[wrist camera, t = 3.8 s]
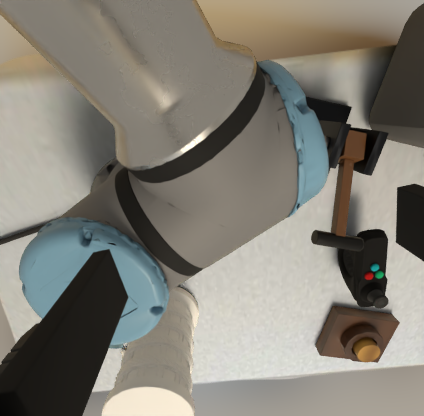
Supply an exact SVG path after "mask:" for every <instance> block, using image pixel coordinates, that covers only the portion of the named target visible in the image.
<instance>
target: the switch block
mask: <svg viewBox="0 0 424 416" xmlns="http://www.w3.org/2000/svg"><path fill="white" fill-rule="evenodd" d="M399 323H400V322H399V321H398V320H397V319H396V318H395V317H394V316H393V315H392V314H388V313H381V312H374V311H367V310H360V309H353V308H346V307H340V306H333V307H332V309H331V311H330V314H329V316H328V318H327V321H326V323H325V325H324V327H323V330H322V332H321V334H320V337H319V339H318V341H317V344H316V348H317V350H318V352H319V354H320V355H321V356H329V357H337V358H345V359H351V360H352V361H358V362H362V361H360V360H359V359H358V357H357V356H356V354H355V353H354V351H353V348H352V347H353V344H354V343H355V342H357V341H358V340H359V339H362V338H365V337H368V338H371V339H373V340H374V342H375V343H376V344H377V346H378V347H379V349H380V355H379V356H378V358H376V359H375V360H373V361H371V362H378V361H379V359H380V358H381V356H382V354H383V352H384V350H385V348H386V347H387V345H388V343H389V341H390V339H391V337H392V336H393V334H394V332H395V330H396V328H397V327H398V325H399Z"/></svg>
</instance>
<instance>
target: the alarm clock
mask: <svg viewBox="0 0 424 416" xmlns="http://www.w3.org/2000/svg"><path fill="white" fill-rule="evenodd" d="M369 124H370V127H371V129H372V130H376V131H382V132H387V133H389V134H388V136H387V139H388V140H392V141H396V142H400V143H405V144H409V145H413V146H417V147H421V148H424V4H422V5H421V6H419V7H418V8H417V9H416V10H415V11H413V13H412V14H411V16H410V17H409V19H408V21H407V22H406V24H405V26H404V29H403V31H402V34H401V36H400V39H399V41H398V44H397V46H396V49H395V51H394V54H393V56H392V59H391V61H390V64H389V66H388V69H387V71H386V74H385V77H384V79H383V82H382V84H381V87H380V89H379V92H378V94H377V97H376V99H375V102H374V104H373V107H372V109H371V112H370V117H369Z"/></svg>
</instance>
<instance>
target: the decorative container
mask: <svg viewBox="0 0 424 416" xmlns="http://www.w3.org/2000/svg"><path fill="white" fill-rule="evenodd" d="M198 318H199V310H198V304H197V302H196V300H195V298H194V297H193V296H192V295H191V294H190V293H189V292H187V291H186V290H184V289H183V288H180V287H175V288H174V289H172V290H171V291H170V292H169V300H168V304H167V307H166V311H165V312H164V313H163V315H162V317H161V319H160V321H159V322H158V324H157V325H156V326H155V327H154V328H153V329H152V330H151V331H150V332H149V333H147V334H146V335H144V336H143V337H141V338H139V339H137V340H134V341H131V342H128V344H127V349H126V351H125V352H124V356H122V357H123V359H122V364H121V369H120V371H119V373H118V374H117V377H116V381H115V387H114V388H113V389H112V390H111V391H110V392H109V394H108V396H107V398H106V401H105V404H104V407H103V410H102V416H195V406H194V400H193V398H192V396H191V392H192V386H193V385H192V378H191V373H192V369H193V358H192V353H193V349H194V342H193V335H194V329H195V327H196V325H197V323H198Z"/></svg>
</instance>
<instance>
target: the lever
mask: <svg viewBox="0 0 424 416" xmlns="http://www.w3.org/2000/svg"><path fill="white" fill-rule="evenodd" d="M366 135H367V134H366V133H362V132H357V131H353V130H349V133H348V136H347V138H346V141H345V144H344V147H343V149H342V152H341V155H340V158H339V161H338V163H339V169H338V177H337V186H336V194H335V202H334V210H333V218H332V227H331V233H330V232H324V231H318V230H315V231H314V232H313V233H312V236H311V240H312V243H313V244H317V245H323V246H328V247H334V248H340V249H346V250H352V251H361V250H362V249H363V247H364V241H363V239H361V238H358V237H353V236H347V235H346V227H347V219H348V210H349V201H350V193H351V184H352V176H353V167H354V163H356V162H358V161H361V160H364V153H365V144H366Z"/></svg>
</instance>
